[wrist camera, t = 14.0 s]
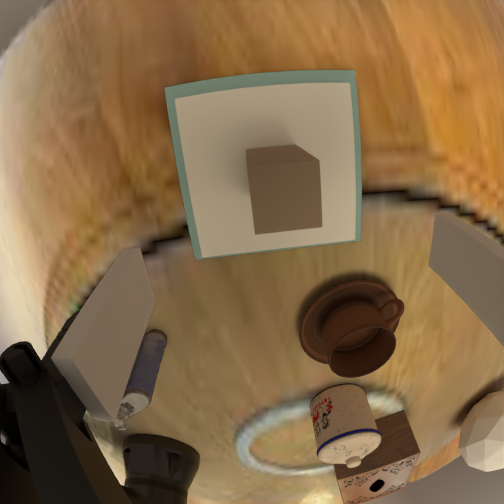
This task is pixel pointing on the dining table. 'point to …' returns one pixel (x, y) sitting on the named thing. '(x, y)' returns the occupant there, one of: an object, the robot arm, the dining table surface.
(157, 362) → the flask
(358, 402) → the teacup with lid
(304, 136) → the lid
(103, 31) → the dining table surface
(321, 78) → the mat
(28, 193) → the dining table surface
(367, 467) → the tissue box cover
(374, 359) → the cup and saucer
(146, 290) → the robot arm
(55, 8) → the dining table surface
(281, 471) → the dining table surface
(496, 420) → the ball
